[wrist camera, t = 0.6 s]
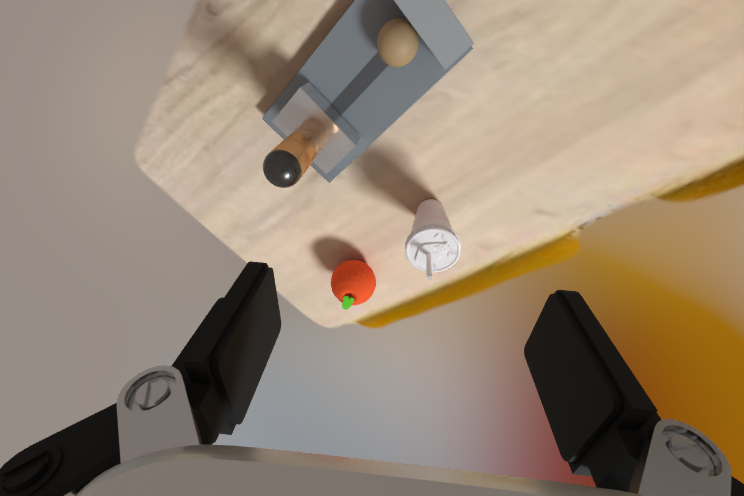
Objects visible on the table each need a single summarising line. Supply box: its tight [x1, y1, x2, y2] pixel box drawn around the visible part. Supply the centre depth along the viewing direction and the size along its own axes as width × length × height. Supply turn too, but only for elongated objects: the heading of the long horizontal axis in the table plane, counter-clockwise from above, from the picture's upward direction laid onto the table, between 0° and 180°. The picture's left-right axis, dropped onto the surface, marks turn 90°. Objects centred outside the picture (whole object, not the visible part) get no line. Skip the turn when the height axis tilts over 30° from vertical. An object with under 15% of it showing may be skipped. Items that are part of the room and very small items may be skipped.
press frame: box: [262, 0, 474, 183], centre depth 34 cm, size 22×11×6 cm, turn 134°
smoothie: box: [405, 199, 461, 280], centre depth 39 cm, size 6×6×14 cm
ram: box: [263, 82, 360, 188], centre depth 32 cm, size 5×8×15 cm, turn 44°
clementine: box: [331, 260, 376, 310], centre depth 50 cm, size 8×7×7 cm
